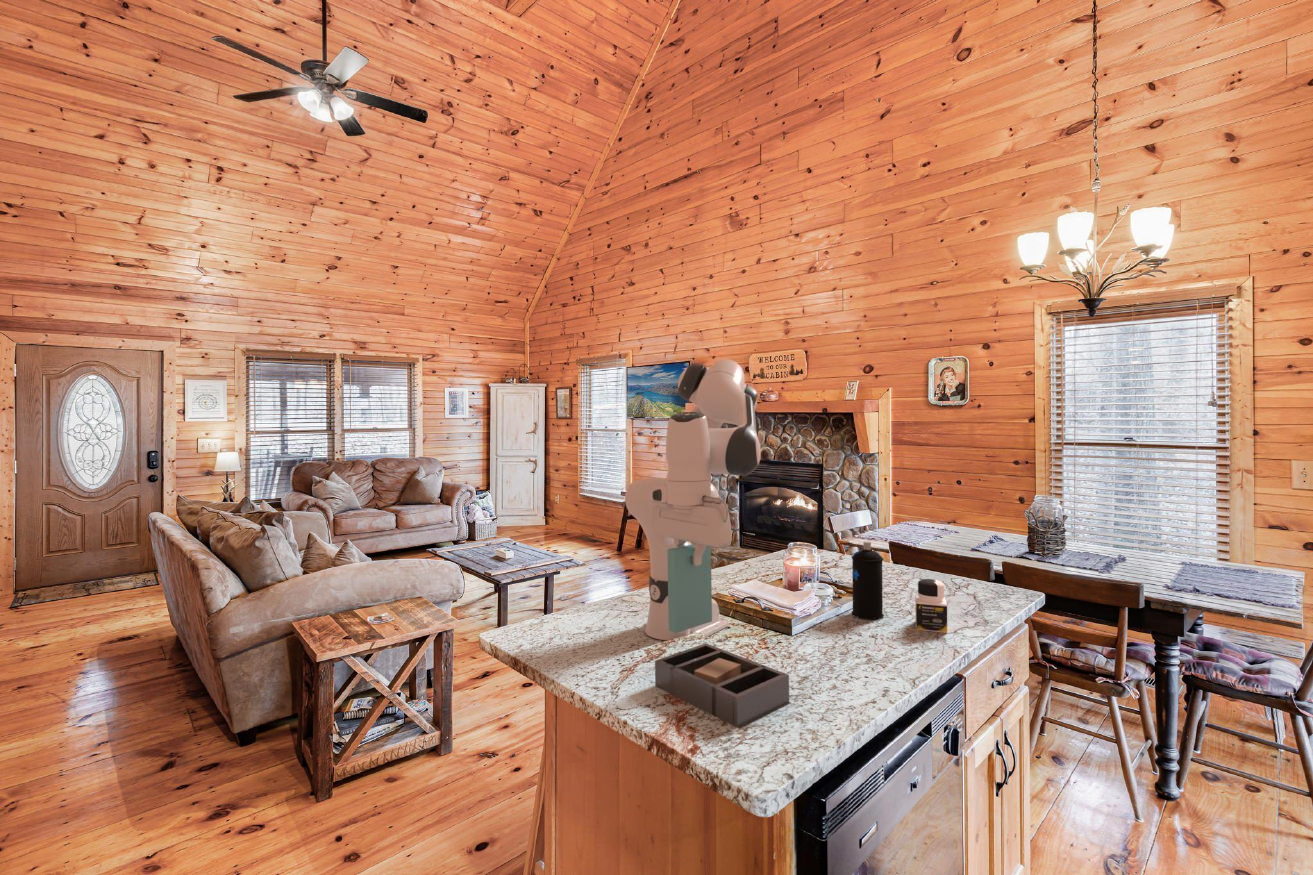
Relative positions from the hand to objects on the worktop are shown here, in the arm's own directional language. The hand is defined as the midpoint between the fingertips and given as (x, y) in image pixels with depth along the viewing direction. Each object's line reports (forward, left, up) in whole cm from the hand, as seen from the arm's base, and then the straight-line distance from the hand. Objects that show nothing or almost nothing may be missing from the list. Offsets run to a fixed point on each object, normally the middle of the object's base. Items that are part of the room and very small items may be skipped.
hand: (689, 563), depth 119 cm
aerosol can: (-67, -1, -25) cm, 71 cm away
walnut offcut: (0, +8, -21) cm, 22 cm away
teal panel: (0, 0, -13) cm, 13 cm away
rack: (0, +9, -25) cm, 27 cm away
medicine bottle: (-70, +15, -25) cm, 76 cm away
